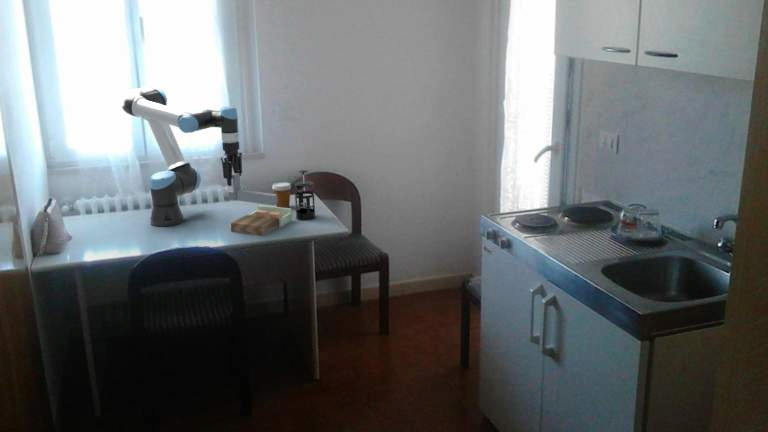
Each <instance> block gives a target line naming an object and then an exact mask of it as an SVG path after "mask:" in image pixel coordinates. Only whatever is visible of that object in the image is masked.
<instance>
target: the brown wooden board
mask: <svg viewBox="0 0 768 432" xmlns="http://www.w3.org/2000/svg"><path fill="white" fill-rule="evenodd" d="M277 228H280V227H279V224H278V218H270V217H261V216H252V215H249V214H246V215H244V216H242V217H240V218H237V219H236V220H233V221H232V222H230V231H231V232H235V233H241V234H242V233H243V234H249V235H251V234H252V235H258V236H265V235H267V234H268V233H270V232H272V231H274V230H276V229H277ZM266 233H267V234H266Z"/></svg>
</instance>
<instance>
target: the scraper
mask: <svg viewBox="0 0 768 432" xmlns="http://www.w3.org/2000/svg"><path fill="white" fill-rule="evenodd" d="M232 179H233V184H234V193H232V192H227V193H228V201H229V200H230V201H237V202H238V201H240V202H246V203H253V204H259V205H260V204H261V205H265V206H272V207H275V206H276V204H277V194H274V193H269V192H263V191H262V192H261V191H254V190H249V189H242V188H241V176H240V173H234V172H232Z"/></svg>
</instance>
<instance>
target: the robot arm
mask: <svg viewBox="0 0 768 432" xmlns="http://www.w3.org/2000/svg"><path fill="white" fill-rule="evenodd" d="M167 102H168V98H167V95H166V94H165V92H164V91H163V90H162V89H161V88H160V87H157V86H144V87H140V88H133V89H128V90H127V91H125V92H124V93H123V94H122V96H121V99H120V105H121V108H122V110H123V111H124V112H125V113H126V114H128V115H131V116H133V117H136V118H141V117H142V119H143V120H145V121H147V122H148V125H149V127H150V130H151V133H152V134H153V136H154V139H155V141H156V143H157V146H158V148H159V150H160V152H161V154H162V156H163V159H164V162H165V163H166V164H165V165H166V166H167V169H166V170H163V171H157V172H156V173H154V174H152V175H151V176H150V177H149V188H150V189H149V190H150V195H151V202H152V210H151V216H150V224H151V225H153V226H156V227H170V226H175V225H178V224H179V225H180V224H181V223H183V222H184V221H185V217H184V214H183V213H182V209H181V208H180V205H179V197H181V196H183V195H186V194H190V193H193V192H194V191H197V189H198V188H199V187H200V184H201V181H202V180H201V173H200V171H199V170H198V169H197V168H195V167H194V166H191V163H190V162H189V161H186V160H185V157H184V155H183V153H182V151H181V148H180V146H179V144H178V141H177V139H176V136H175V134H174V133H173V130H172V128H171V126H173V127H176V128H179V129H180V131H181V132H182V133H185V134H188V133H189V134H192V133H194V132H197V131H198V132H199V131H201V130H206V129H209V128H218V129H219V128H220V129H221V130H220V131H221V141H222V143H221V145H222V151H224V156H223V157H221V158H220V161H221V166H222V173H223V174H222V175H223V179H226V183H227V184H226V185H227V191H228V192H232V193H234V184H233V179H232V173H240V177H241V176H242V174H243V163H242V162H243V161H242V156H243V152H240V151H239V150H240V142H239V138H240V137H239V124H238V123H239V122H238V121H239V120H238V118H239V116H238V111H237V108H236V107H234V106H223V107H220V109H219V110H213V109H202V110H200V111H199V112H196V113H190V112H187V111H183V110H179V109H177V108H173V107H171V106H167V104H168V103H167ZM228 192H227V193H228Z"/></svg>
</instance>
